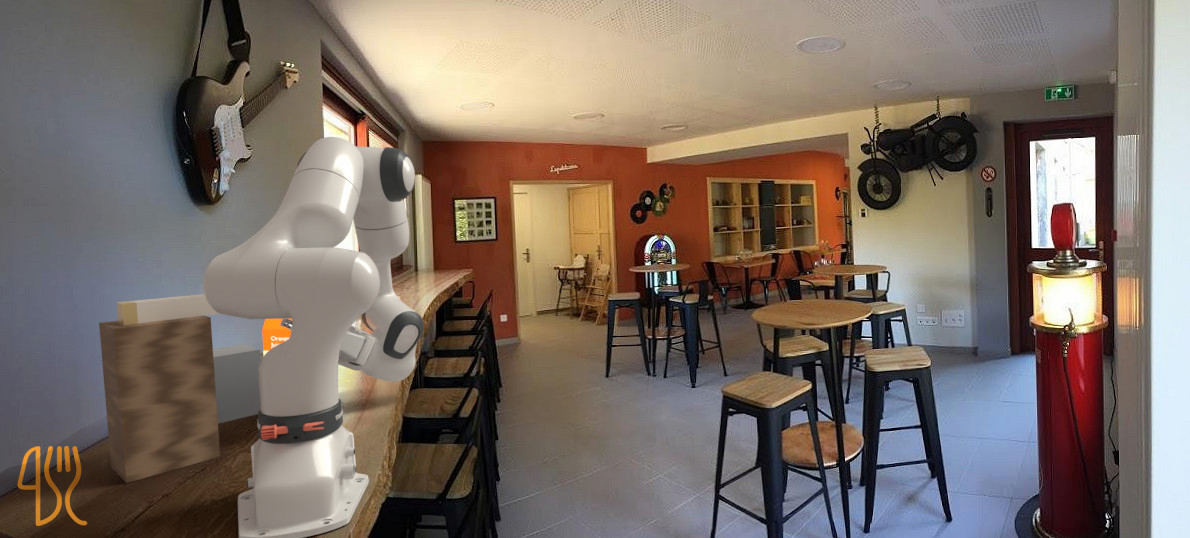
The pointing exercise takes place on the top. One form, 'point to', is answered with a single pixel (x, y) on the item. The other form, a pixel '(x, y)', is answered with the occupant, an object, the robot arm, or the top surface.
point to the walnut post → (159, 395)
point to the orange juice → (274, 334)
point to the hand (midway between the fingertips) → (292, 324)
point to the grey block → (236, 381)
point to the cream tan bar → (163, 309)
